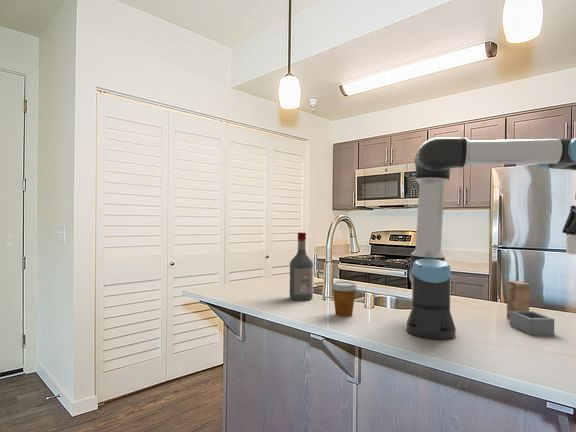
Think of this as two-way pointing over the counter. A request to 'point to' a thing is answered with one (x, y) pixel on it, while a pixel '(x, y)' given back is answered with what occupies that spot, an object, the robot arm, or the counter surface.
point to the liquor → (301, 273)
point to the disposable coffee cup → (344, 298)
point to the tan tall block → (517, 296)
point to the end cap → (531, 322)
